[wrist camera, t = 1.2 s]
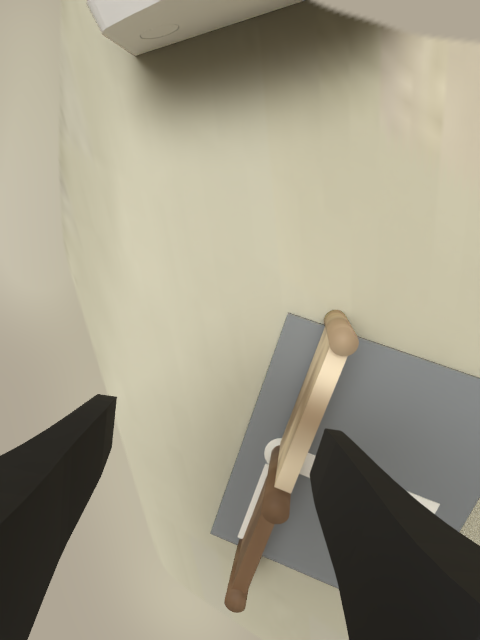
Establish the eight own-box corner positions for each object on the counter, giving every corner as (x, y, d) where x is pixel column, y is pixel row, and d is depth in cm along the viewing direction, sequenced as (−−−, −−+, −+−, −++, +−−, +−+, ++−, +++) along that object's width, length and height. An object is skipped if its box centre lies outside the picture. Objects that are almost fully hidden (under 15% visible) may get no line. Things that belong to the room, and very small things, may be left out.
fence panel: (296, 446, 24) (294, 500, 19) (278, 439, 25) (270, 490, 19) (349, 314, 22) (363, 334, 17) (328, 307, 22) (335, 325, 17)
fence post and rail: (296, 447, 25) (293, 506, 19) (254, 552, 28) (240, 632, 22) (275, 439, 25) (266, 495, 20) (235, 544, 28) (216, 621, 22)
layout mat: (533, 396, 21) (537, 399, 21) (407, 614, 26) (408, 619, 26) (288, 312, 23) (287, 313, 23) (211, 530, 28) (209, 534, 28)
